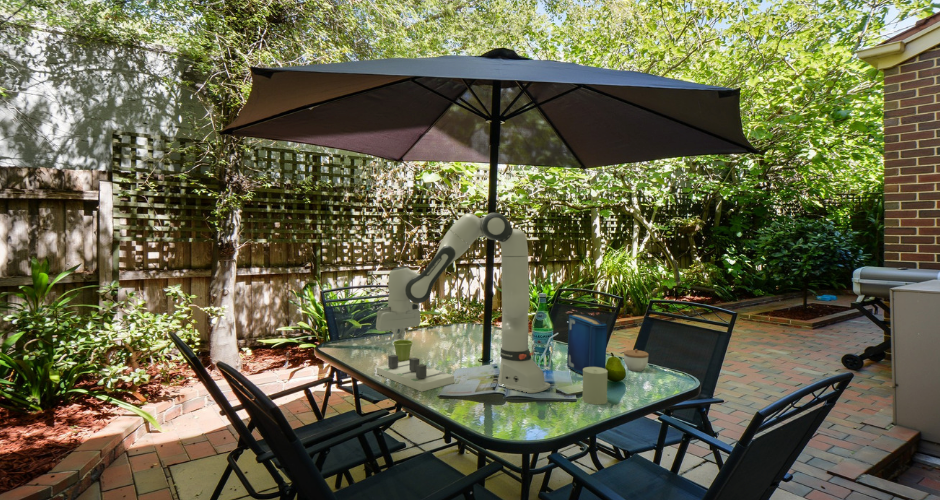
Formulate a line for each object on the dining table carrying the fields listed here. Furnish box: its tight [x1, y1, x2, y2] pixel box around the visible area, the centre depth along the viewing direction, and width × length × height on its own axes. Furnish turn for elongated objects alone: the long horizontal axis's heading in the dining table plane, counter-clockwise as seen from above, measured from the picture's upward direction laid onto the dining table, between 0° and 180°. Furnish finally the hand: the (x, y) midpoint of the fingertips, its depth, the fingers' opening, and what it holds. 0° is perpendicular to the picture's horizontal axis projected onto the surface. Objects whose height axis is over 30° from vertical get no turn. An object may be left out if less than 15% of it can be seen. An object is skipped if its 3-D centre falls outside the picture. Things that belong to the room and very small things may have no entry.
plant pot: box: [392, 339, 413, 362], centre depth 248 cm, size 9×9×9 cm
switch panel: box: [376, 360, 455, 393], centre depth 218 cm, size 32×17×3 cm, turn 43°
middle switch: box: [409, 357, 420, 372], centre depth 218 cm, size 3×3×5 cm
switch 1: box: [387, 354, 399, 369], centre depth 222 cm, size 3×3×5 cm
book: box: [566, 314, 608, 376], centre depth 226 cm, size 22×7×25 cm, turn 22°
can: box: [581, 367, 609, 405], centre depth 192 cm, size 9×9×12 cm
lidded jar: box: [623, 348, 649, 372], centre depth 234 cm, size 11×11×9 cm
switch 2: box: [416, 363, 428, 379], centre depth 208 cm, size 3×3×5 cm
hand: (398, 339), depth 212 cm, fingers closed
